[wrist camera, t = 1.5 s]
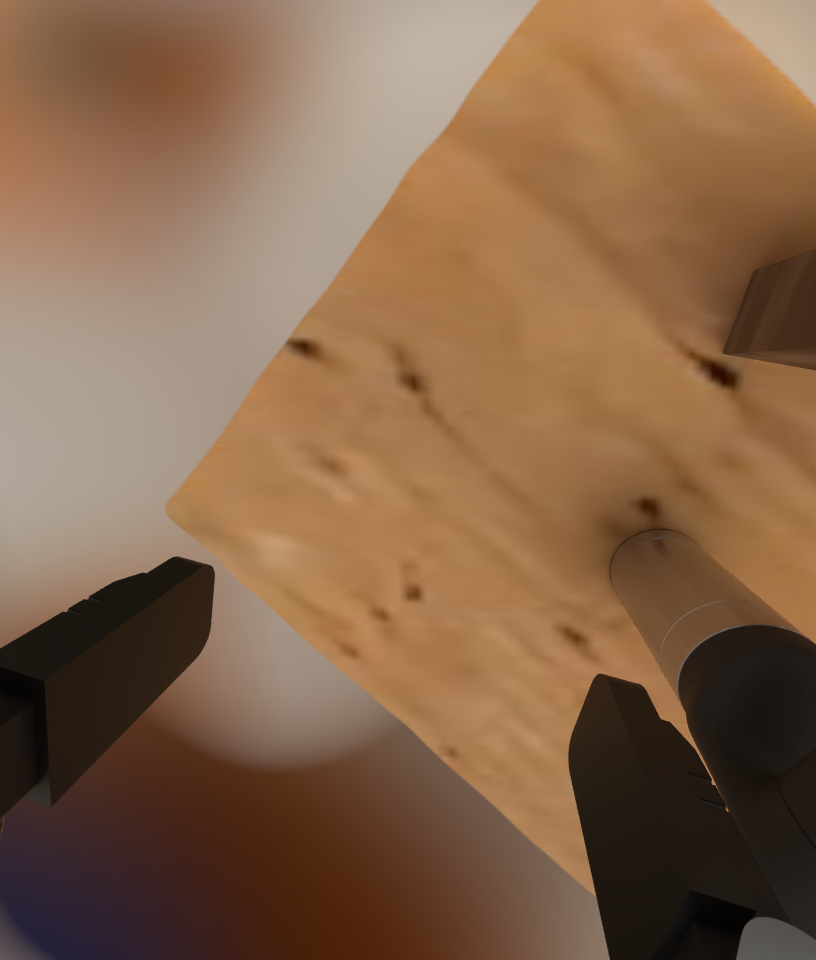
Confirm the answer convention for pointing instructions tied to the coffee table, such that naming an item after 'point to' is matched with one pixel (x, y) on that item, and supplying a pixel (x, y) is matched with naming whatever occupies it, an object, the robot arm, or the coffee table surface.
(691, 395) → the coffee table surface
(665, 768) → the robot arm
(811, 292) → the post
